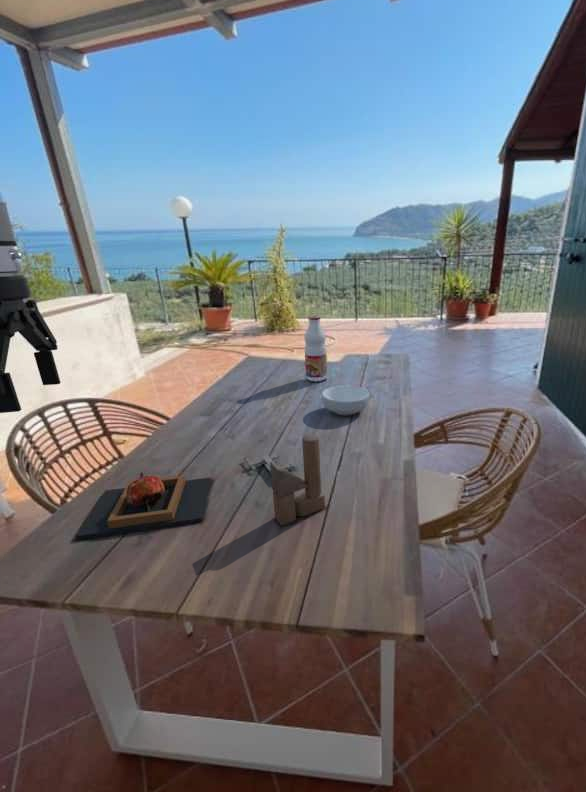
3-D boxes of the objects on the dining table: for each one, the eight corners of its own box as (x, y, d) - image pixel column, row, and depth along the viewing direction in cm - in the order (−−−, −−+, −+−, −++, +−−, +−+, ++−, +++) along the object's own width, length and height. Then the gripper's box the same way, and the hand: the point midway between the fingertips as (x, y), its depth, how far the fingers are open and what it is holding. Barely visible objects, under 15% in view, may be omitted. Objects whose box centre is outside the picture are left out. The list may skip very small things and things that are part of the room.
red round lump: (171, 513, 89) (166, 472, 93) (161, 504, 82) (157, 461, 87) (135, 523, 86) (132, 481, 91) (122, 515, 80) (120, 471, 85)
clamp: (300, 468, 100) (262, 481, 94) (300, 476, 100) (263, 489, 95) (277, 445, 111) (242, 455, 106) (277, 452, 112) (243, 462, 107)
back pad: (76, 540, 79) (73, 528, 78) (106, 493, 93) (103, 483, 92) (202, 521, 84) (200, 510, 83) (211, 480, 99) (209, 470, 98)
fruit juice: (330, 380, 171) (328, 317, 161) (310, 384, 167) (307, 319, 157) (322, 374, 178) (320, 313, 169) (303, 377, 175) (299, 315, 165)
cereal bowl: (379, 410, 140) (379, 392, 137) (346, 425, 129) (345, 405, 126) (346, 398, 151) (345, 381, 148) (313, 411, 140) (312, 392, 137)
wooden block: (274, 517, 85) (267, 444, 79) (317, 500, 91) (314, 431, 85) (281, 527, 82) (275, 452, 76) (325, 508, 88) (322, 437, 82)
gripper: (-31, 280, 52) (17, 423, 59) (59, 269, 75) (85, 373, 82) (-99, 282, 51) (-42, 428, 58) (13, 270, 73) (44, 376, 81)
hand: (33, 396), depth 70 cm, fingers open, 13 cm apart
